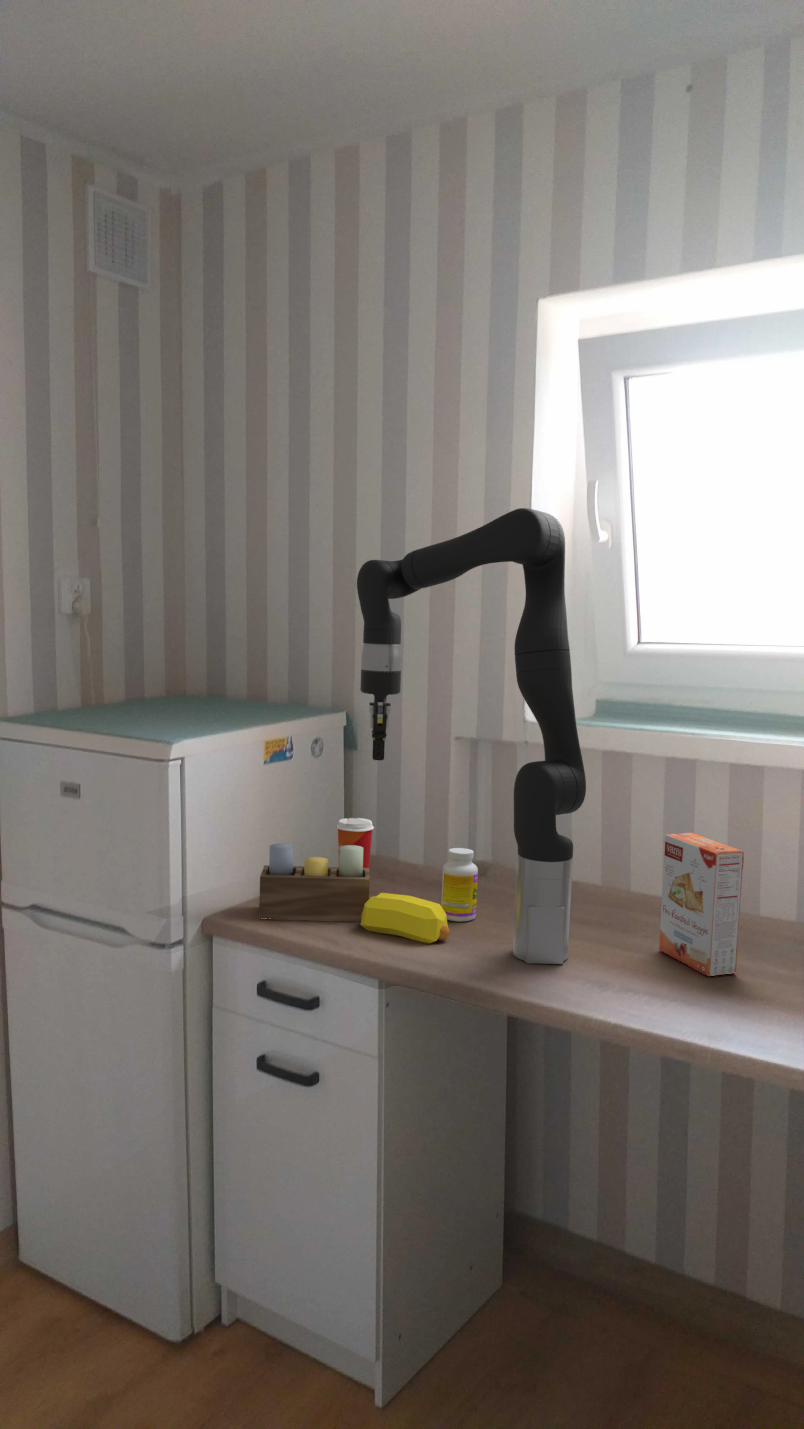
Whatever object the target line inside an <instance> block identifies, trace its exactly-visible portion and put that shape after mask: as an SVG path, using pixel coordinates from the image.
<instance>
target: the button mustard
mask: <svg viewBox="0 0 804 1429" xmlns="http://www.w3.org/2000/svg"><path fill="white" fill-rule="evenodd" d="M303 864H304V865H303V866H304V876H328V867H329V859H328V858H326V857H322V856H309V857H306V858H304V862H303Z"/></svg>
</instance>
